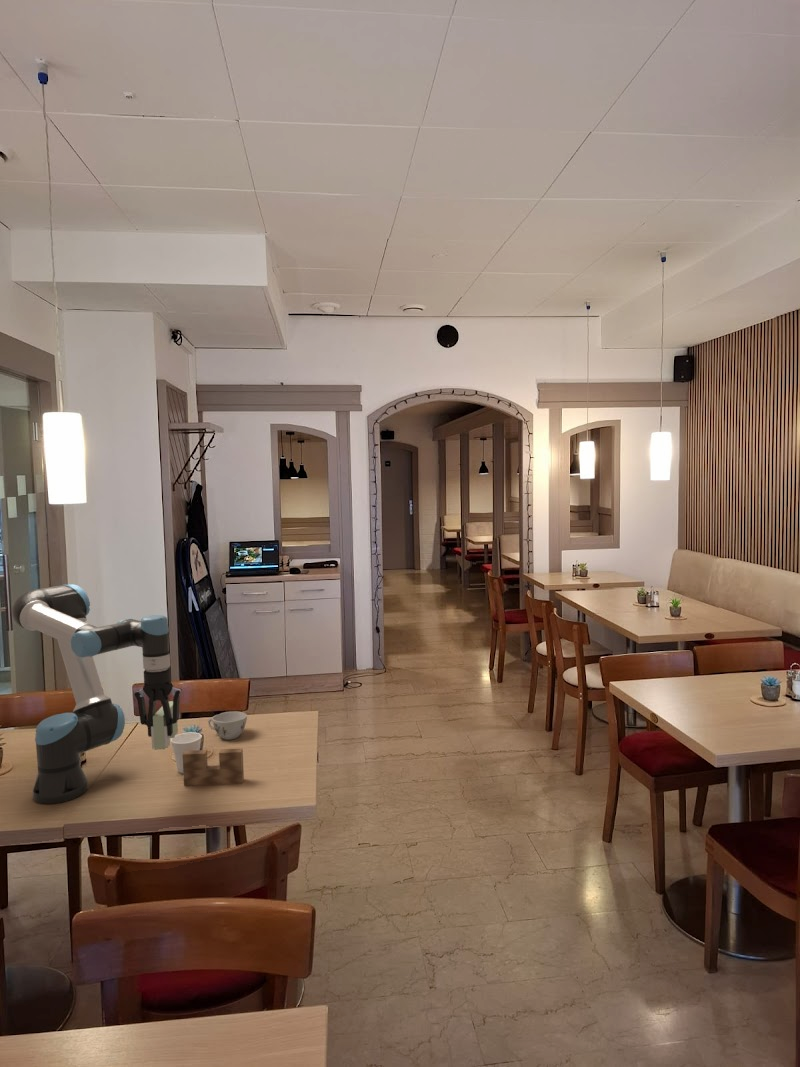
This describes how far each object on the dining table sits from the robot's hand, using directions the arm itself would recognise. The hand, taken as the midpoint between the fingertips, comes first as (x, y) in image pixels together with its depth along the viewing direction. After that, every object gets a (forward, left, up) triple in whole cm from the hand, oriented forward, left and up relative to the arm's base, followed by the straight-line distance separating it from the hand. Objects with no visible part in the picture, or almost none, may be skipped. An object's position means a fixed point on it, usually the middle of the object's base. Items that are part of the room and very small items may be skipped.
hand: (161, 746), depth 209 cm
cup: (+2, +22, -17) cm, 28 cm away
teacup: (+9, +51, -17) cm, 55 cm away
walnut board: (+12, +12, -17) cm, 24 cm away
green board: (0, +6, 0) cm, 6 cm away
